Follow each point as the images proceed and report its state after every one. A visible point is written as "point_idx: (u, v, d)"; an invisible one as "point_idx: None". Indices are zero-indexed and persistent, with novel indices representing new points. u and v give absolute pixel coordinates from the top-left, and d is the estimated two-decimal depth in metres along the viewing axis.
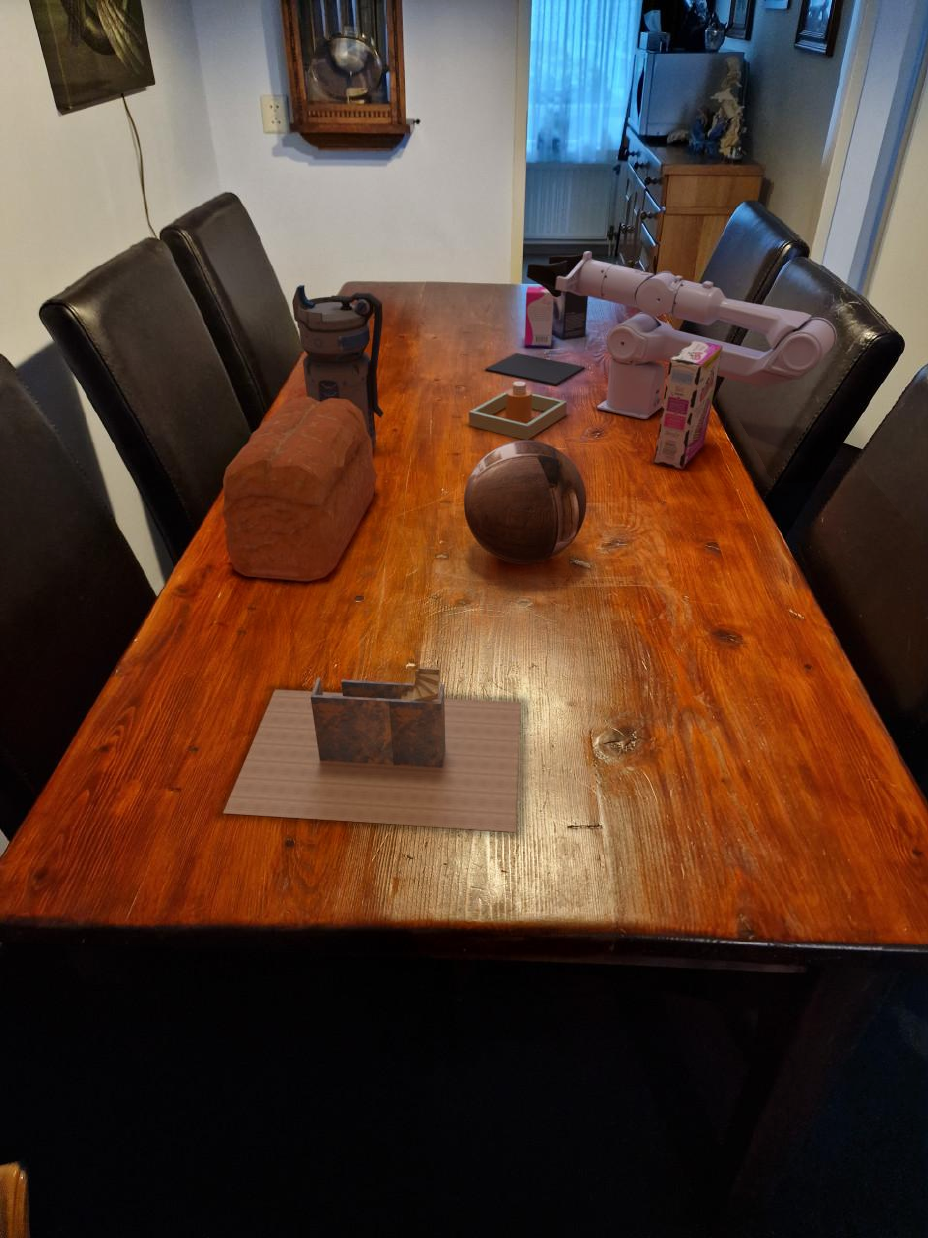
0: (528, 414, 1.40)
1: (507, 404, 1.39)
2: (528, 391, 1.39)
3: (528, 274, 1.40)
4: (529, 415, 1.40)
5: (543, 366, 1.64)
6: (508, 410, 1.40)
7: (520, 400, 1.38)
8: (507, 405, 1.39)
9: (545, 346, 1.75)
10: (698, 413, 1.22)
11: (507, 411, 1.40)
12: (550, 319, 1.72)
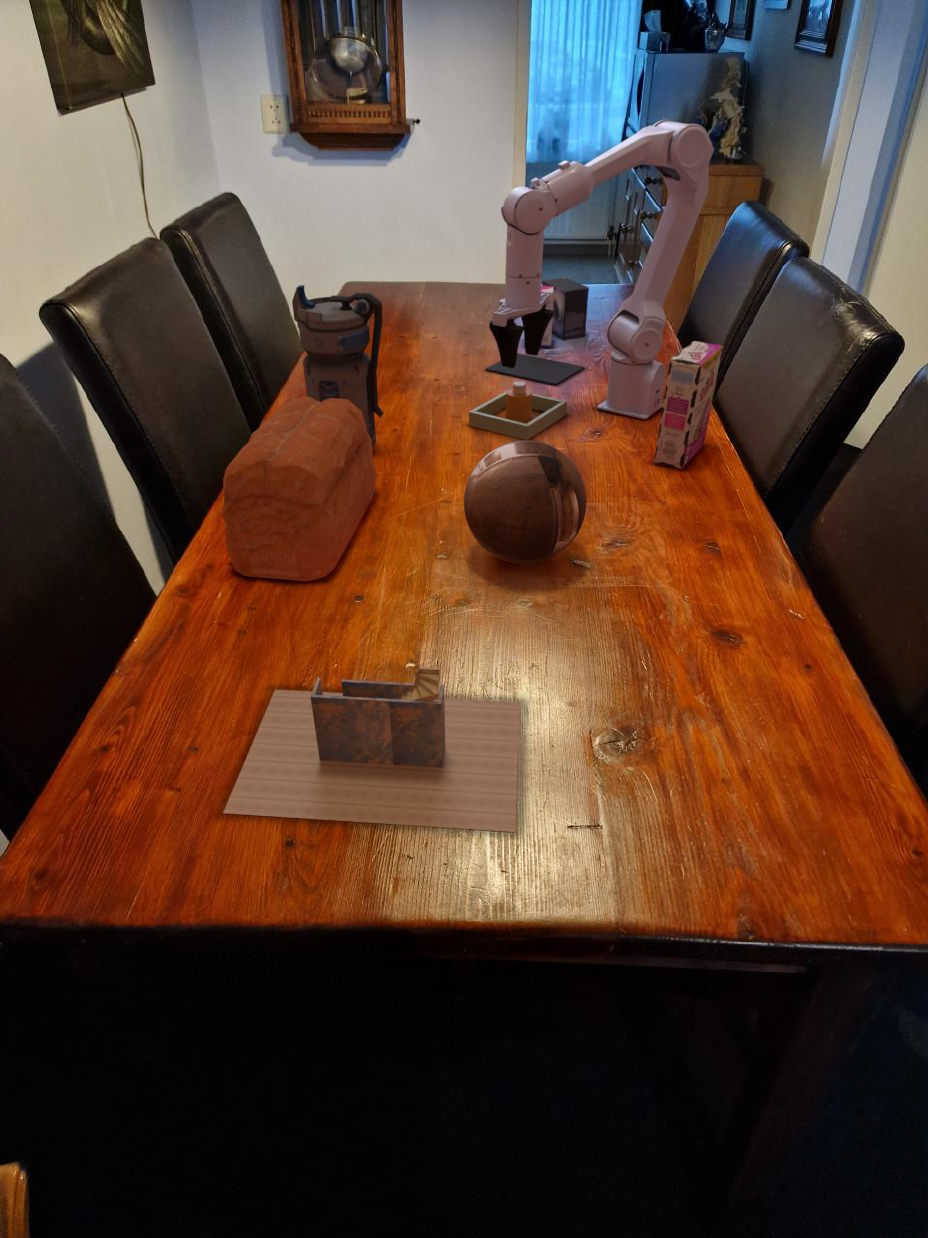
0: (528, 414, 1.40)
1: (507, 404, 1.39)
2: (528, 391, 1.39)
3: (510, 365, 1.33)
4: (529, 415, 1.40)
5: (543, 366, 1.64)
6: (508, 410, 1.40)
7: (520, 400, 1.38)
8: (507, 405, 1.39)
9: (545, 346, 1.75)
10: (698, 413, 1.22)
11: (507, 411, 1.40)
12: None
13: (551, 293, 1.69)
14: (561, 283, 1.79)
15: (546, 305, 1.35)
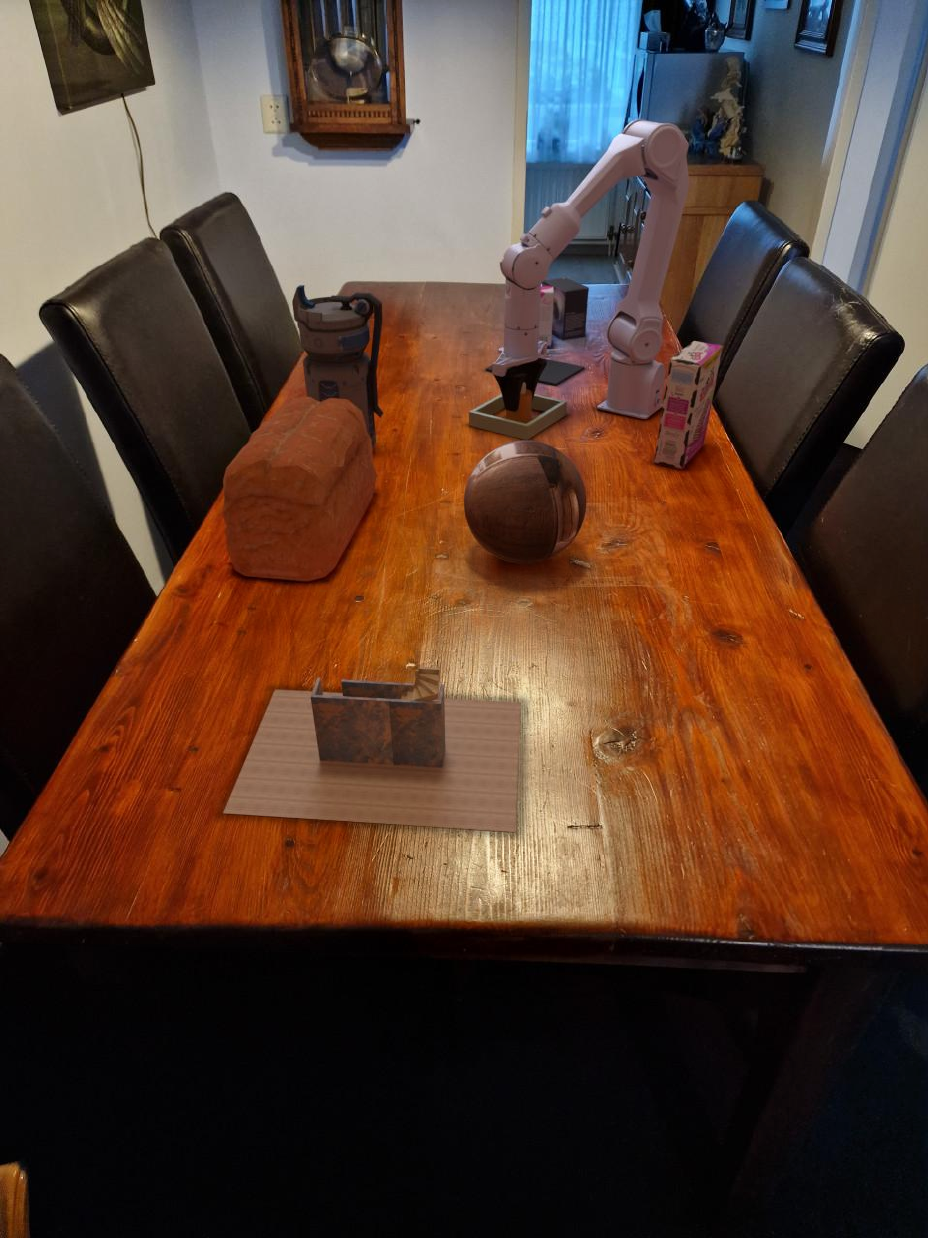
0: (528, 414, 1.40)
1: None
2: (528, 391, 1.39)
3: (512, 409, 1.38)
4: (529, 415, 1.40)
5: None
6: None
7: (520, 400, 1.38)
8: None
9: None
10: (698, 413, 1.22)
11: (507, 411, 1.40)
12: (550, 319, 1.72)
13: (551, 293, 1.69)
14: (561, 283, 1.79)
15: (543, 352, 1.40)
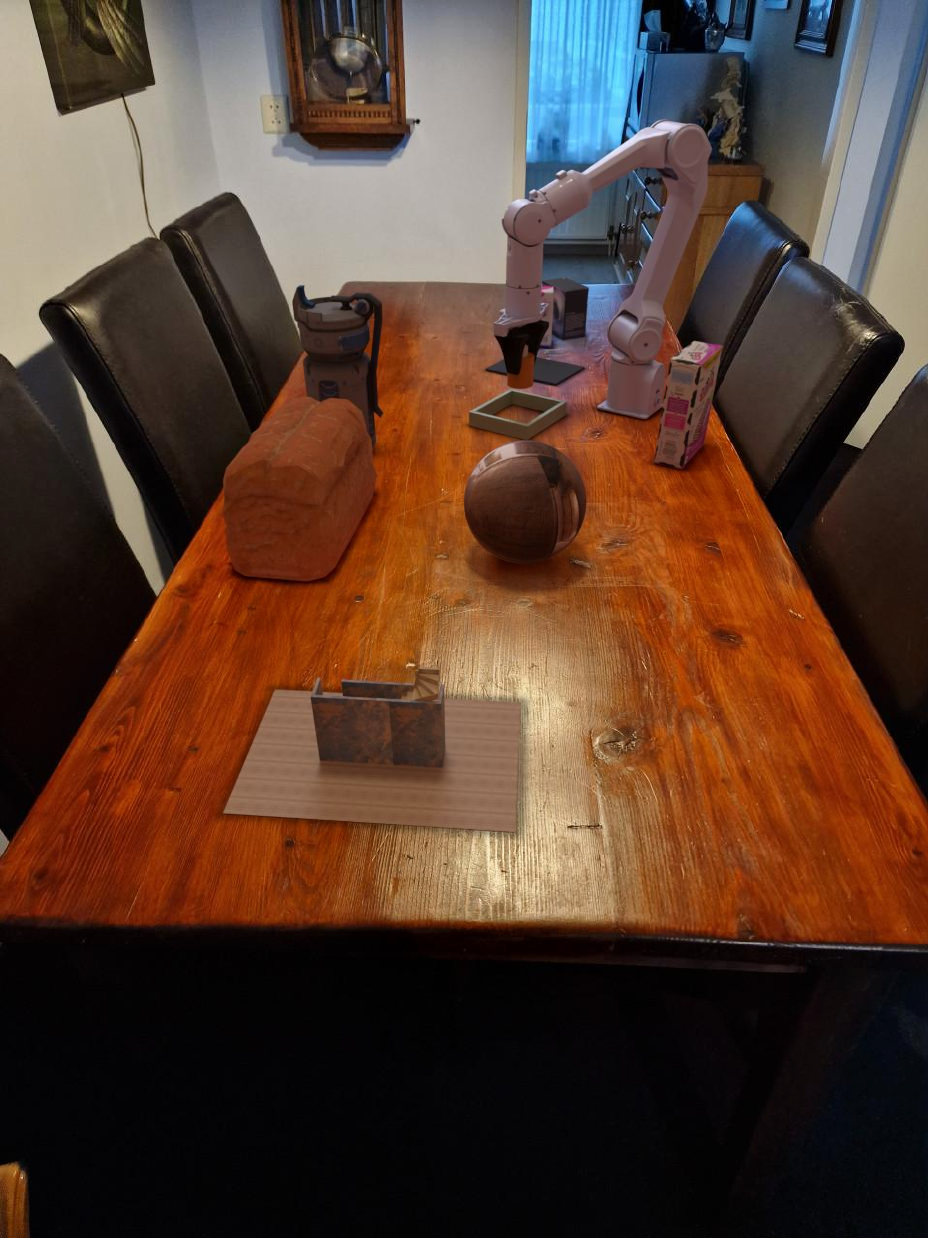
0: (530, 378, 1.37)
1: None
2: (530, 354, 1.36)
3: (514, 372, 1.35)
4: (531, 379, 1.37)
5: (543, 366, 1.64)
6: (510, 374, 1.37)
7: (522, 363, 1.35)
8: None
9: (545, 346, 1.75)
10: (698, 413, 1.22)
11: (509, 375, 1.37)
12: (550, 319, 1.72)
13: (551, 293, 1.69)
14: (561, 283, 1.79)
15: (546, 314, 1.37)
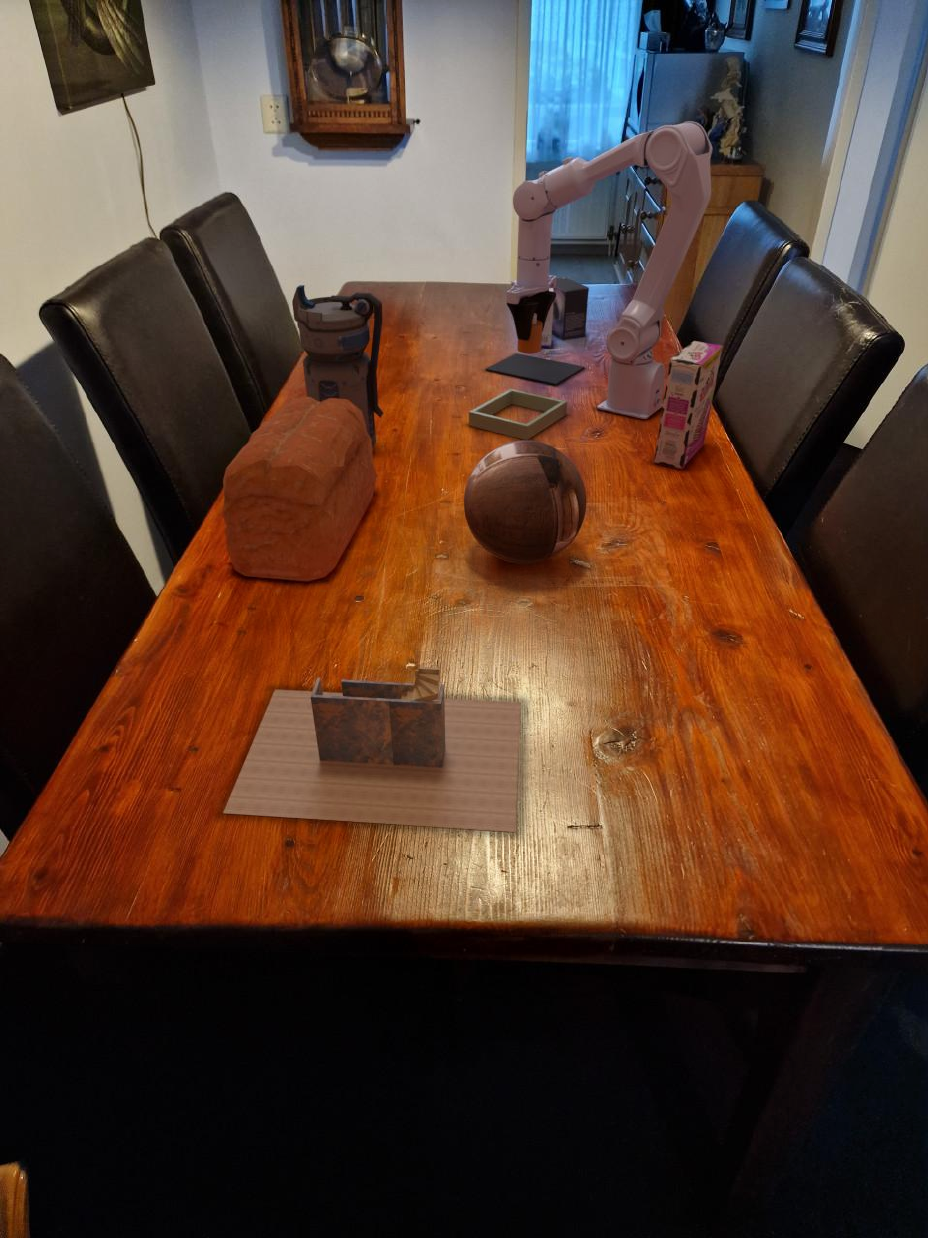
0: (538, 343, 1.50)
1: None
2: (539, 322, 1.49)
3: (524, 338, 1.48)
4: (539, 344, 1.50)
5: (543, 366, 1.64)
6: (520, 340, 1.50)
7: (532, 329, 1.48)
8: None
9: (545, 346, 1.75)
10: (698, 413, 1.22)
11: (519, 341, 1.50)
12: (550, 319, 1.72)
13: None
14: (561, 283, 1.79)
15: (553, 286, 1.50)
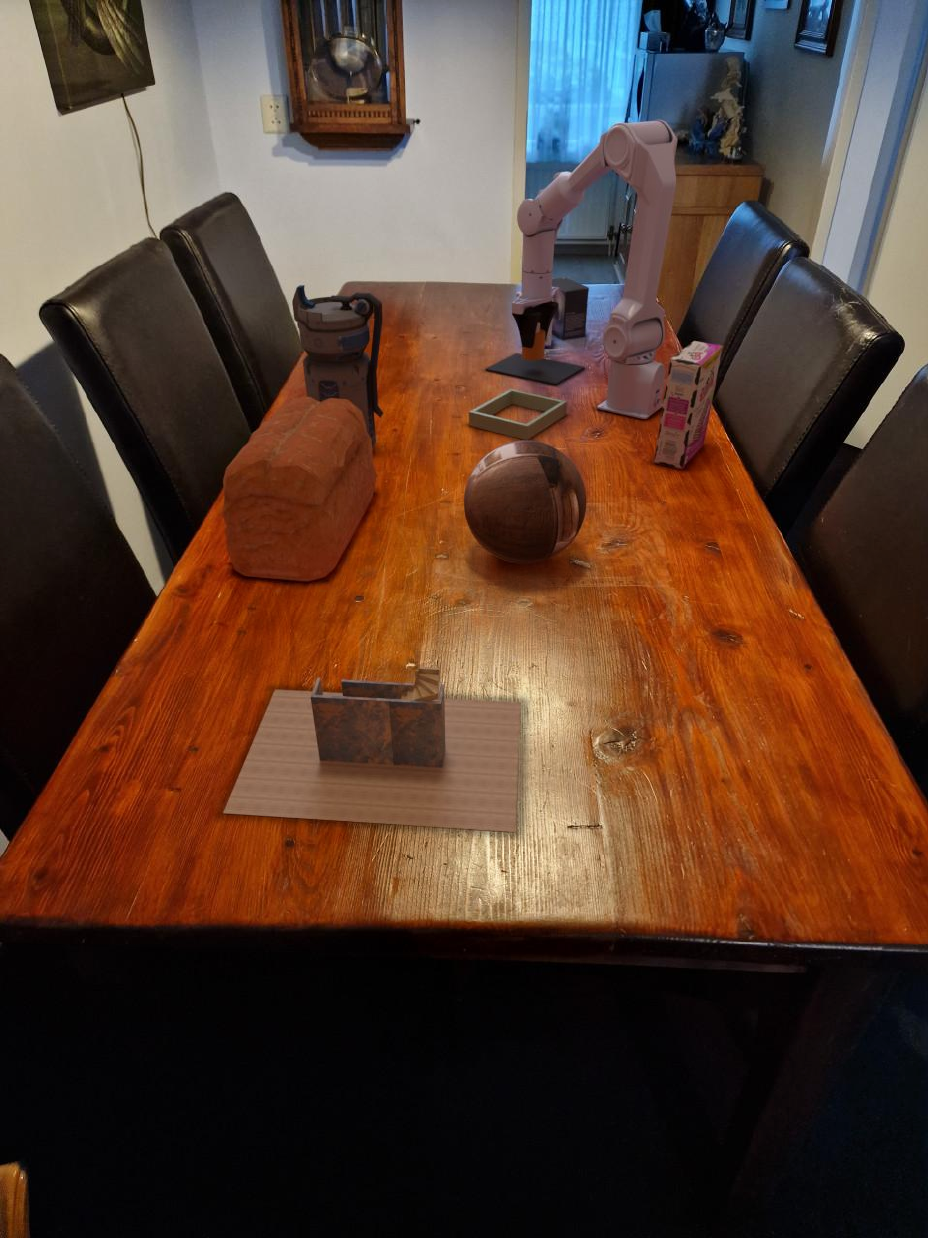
0: (541, 351, 1.59)
1: None
2: (542, 330, 1.59)
3: (528, 346, 1.58)
4: (543, 352, 1.60)
5: (543, 366, 1.64)
6: (524, 347, 1.59)
7: (535, 337, 1.57)
8: None
9: (545, 346, 1.75)
10: (698, 413, 1.22)
11: (523, 348, 1.60)
12: None
13: None
14: (561, 283, 1.79)
15: (556, 297, 1.59)
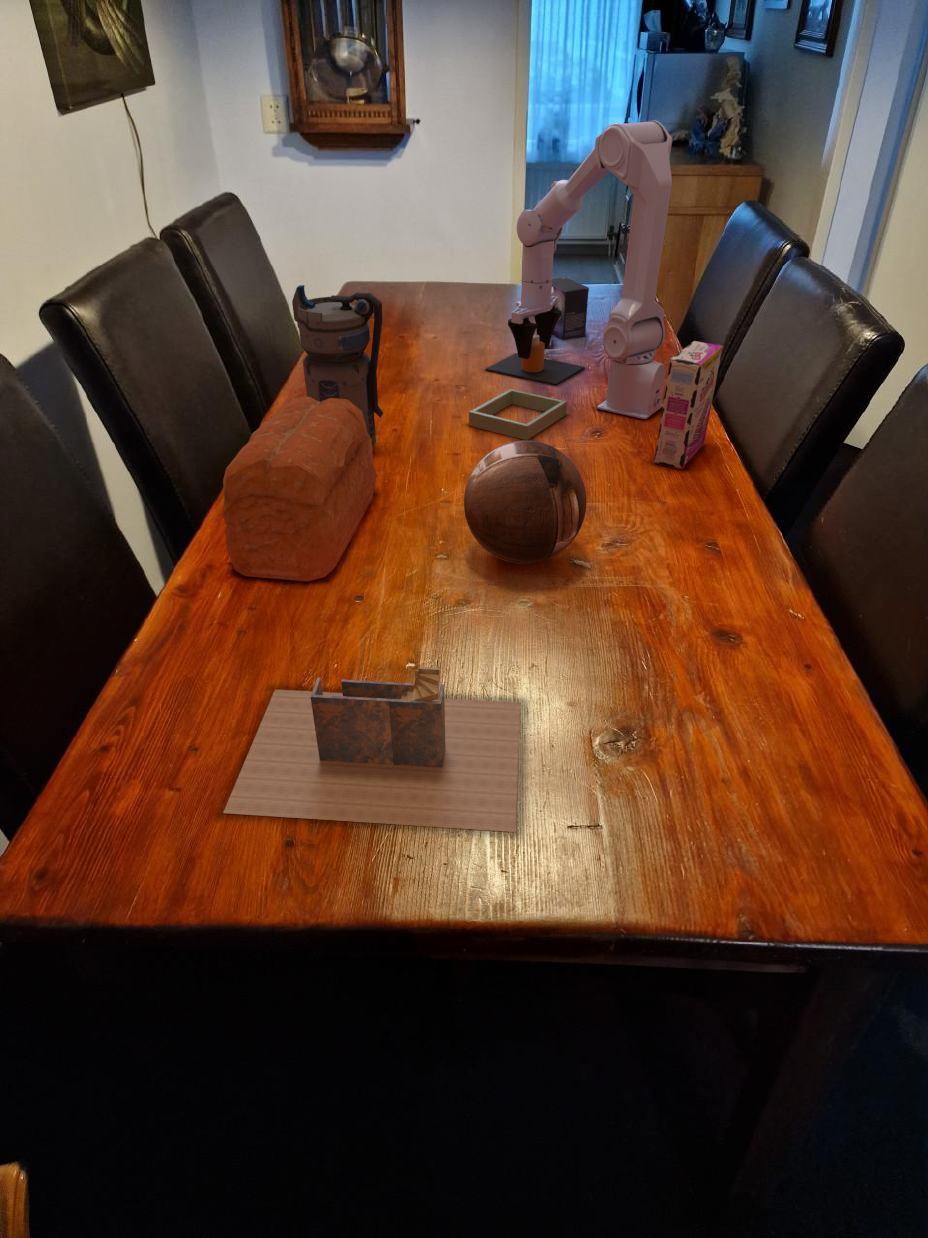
0: (541, 363, 1.61)
1: None
2: (541, 343, 1.60)
3: (525, 356, 1.58)
4: (542, 364, 1.61)
5: None
6: (523, 360, 1.61)
7: (534, 350, 1.59)
8: None
9: None
10: (698, 413, 1.22)
11: (523, 360, 1.61)
12: None
13: (551, 293, 1.69)
14: (561, 283, 1.79)
15: (555, 306, 1.60)
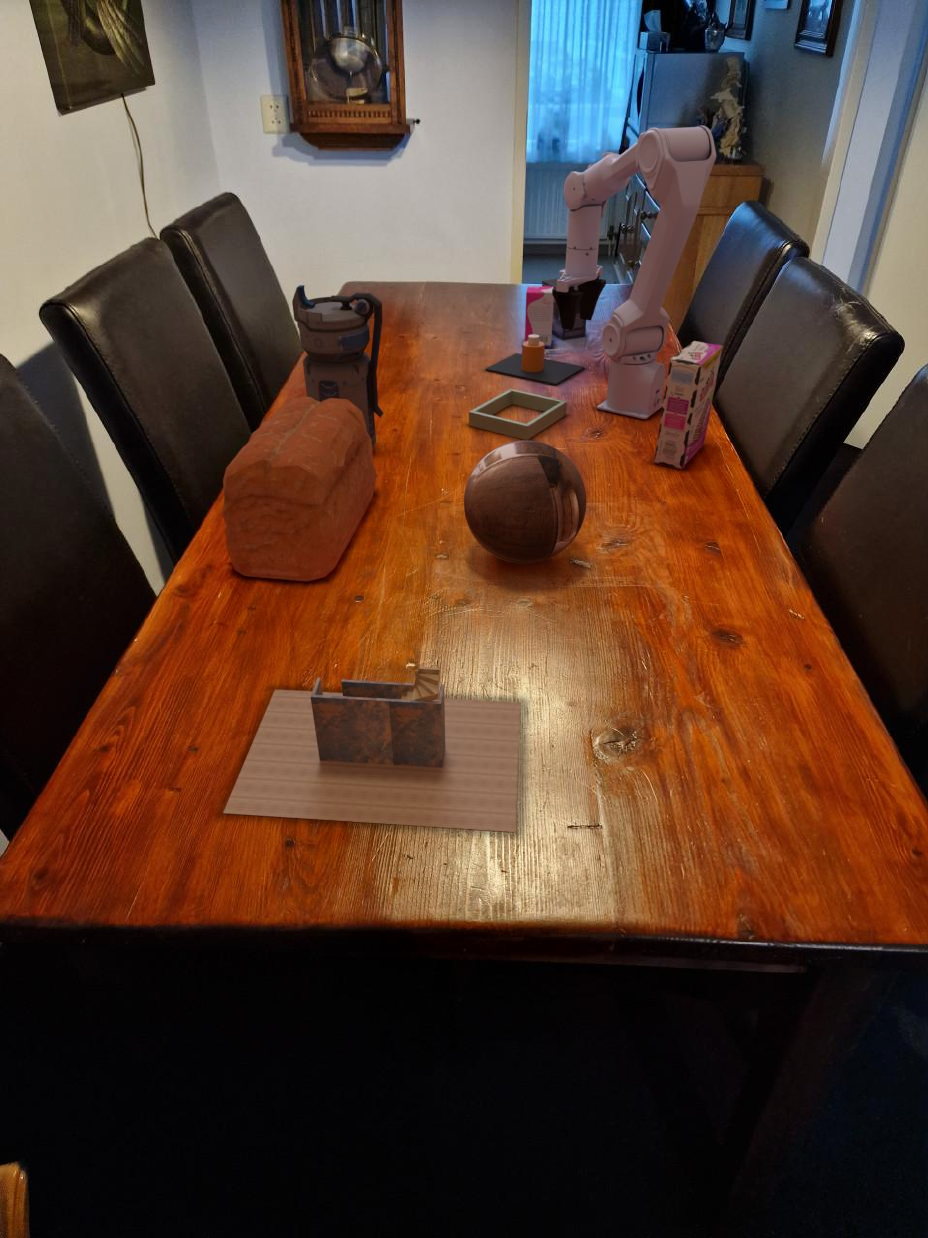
0: (541, 363, 1.61)
1: (523, 354, 1.60)
2: (541, 343, 1.60)
3: (569, 327, 1.52)
4: (542, 364, 1.61)
5: None
6: (523, 360, 1.61)
7: (534, 350, 1.59)
8: (523, 355, 1.60)
9: (545, 346, 1.75)
10: (698, 413, 1.22)
11: (523, 360, 1.61)
12: (550, 319, 1.72)
13: (551, 293, 1.69)
14: None
15: (599, 275, 1.55)
